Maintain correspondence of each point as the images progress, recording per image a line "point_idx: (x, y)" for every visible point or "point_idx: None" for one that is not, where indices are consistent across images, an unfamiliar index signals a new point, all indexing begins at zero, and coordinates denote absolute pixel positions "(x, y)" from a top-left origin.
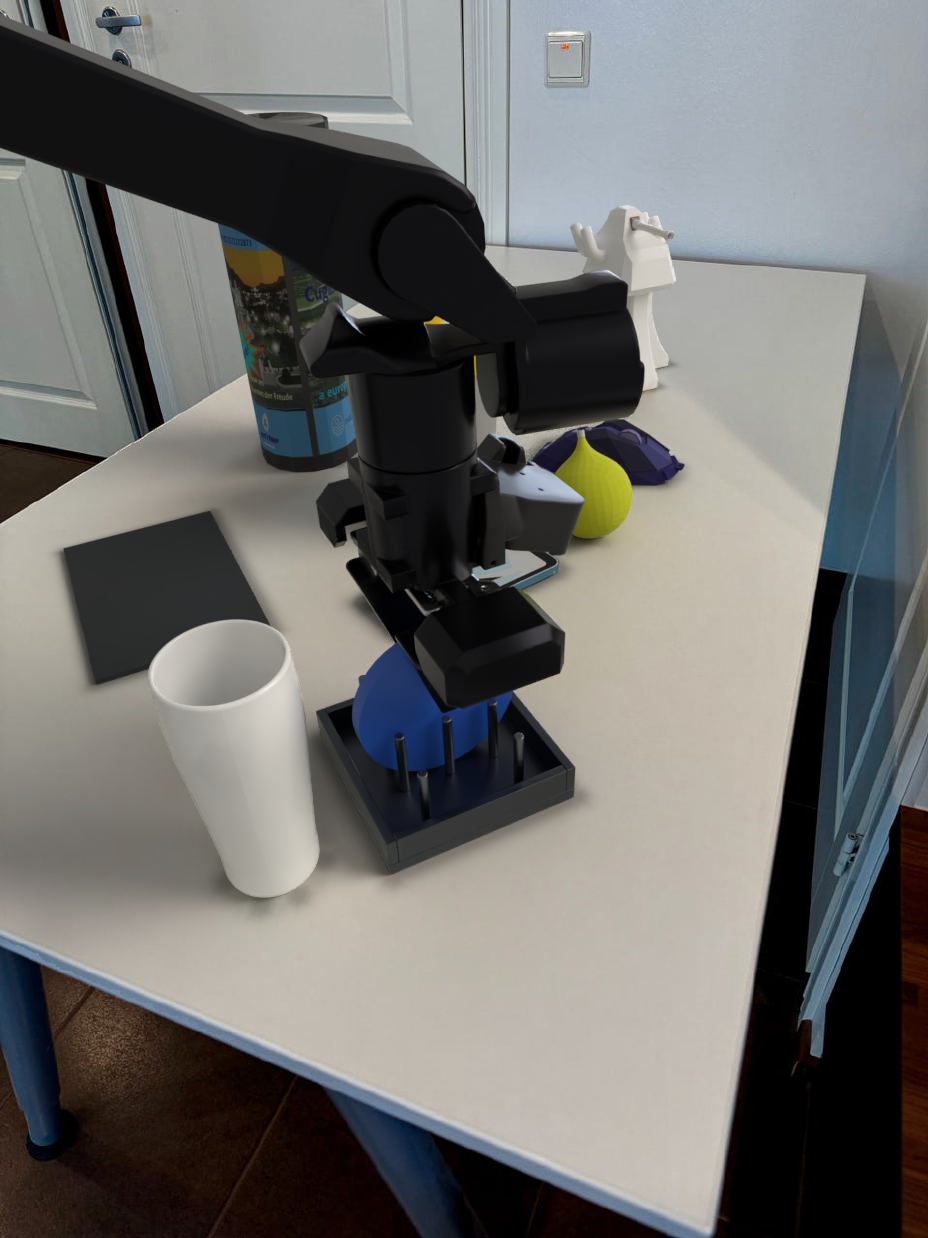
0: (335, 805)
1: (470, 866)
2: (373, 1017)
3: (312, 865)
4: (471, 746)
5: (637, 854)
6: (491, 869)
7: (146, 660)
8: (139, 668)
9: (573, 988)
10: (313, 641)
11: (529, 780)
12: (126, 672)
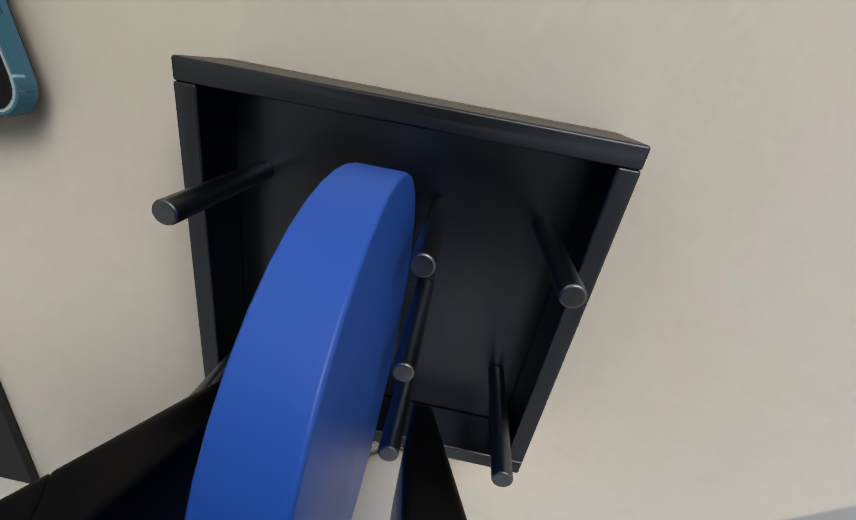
0: None
1: (580, 348)
2: (642, 509)
3: None
4: (411, 242)
5: (812, 134)
6: (608, 332)
7: (5, 438)
8: (20, 446)
9: (834, 372)
10: (7, 255)
11: (594, 253)
12: (24, 457)
